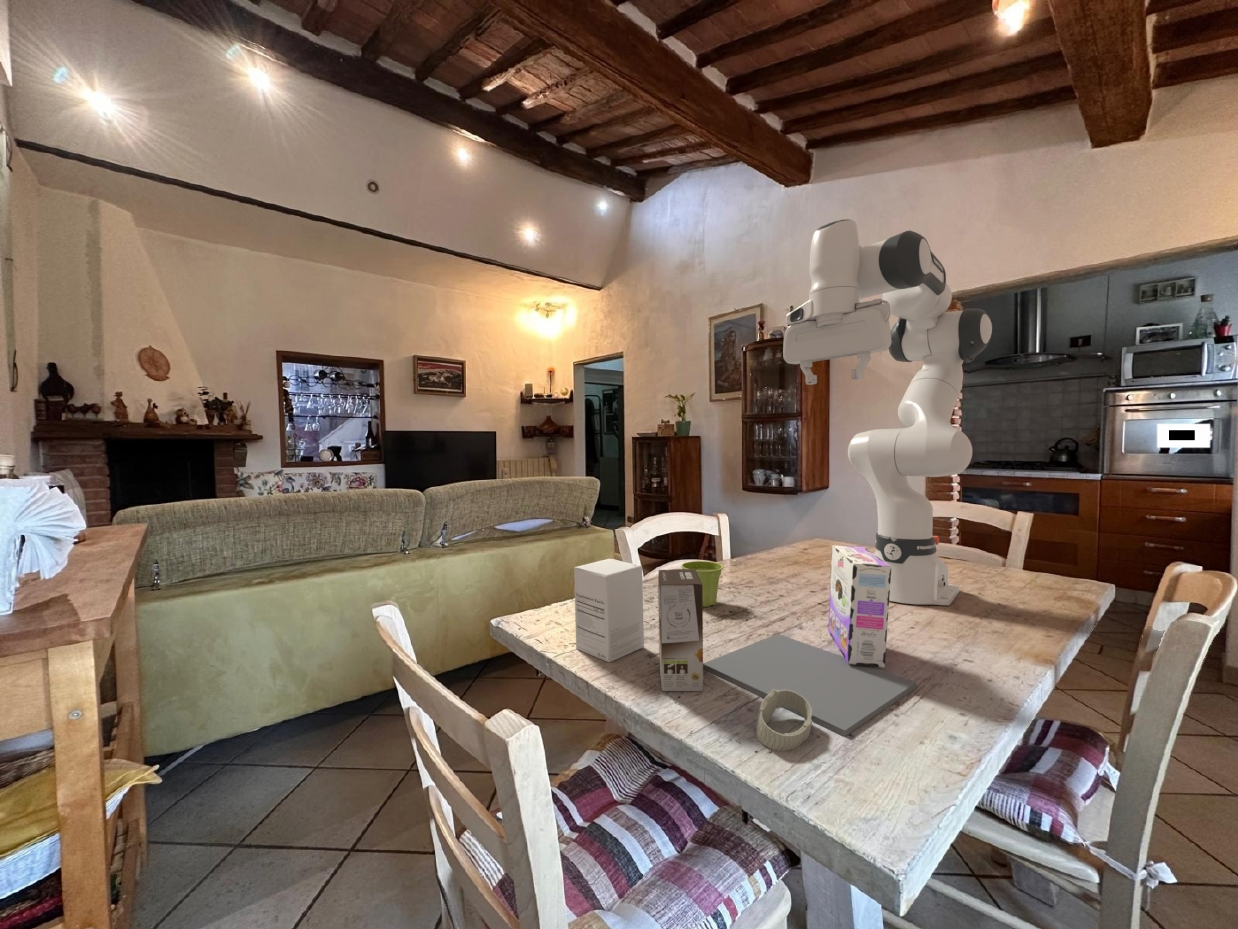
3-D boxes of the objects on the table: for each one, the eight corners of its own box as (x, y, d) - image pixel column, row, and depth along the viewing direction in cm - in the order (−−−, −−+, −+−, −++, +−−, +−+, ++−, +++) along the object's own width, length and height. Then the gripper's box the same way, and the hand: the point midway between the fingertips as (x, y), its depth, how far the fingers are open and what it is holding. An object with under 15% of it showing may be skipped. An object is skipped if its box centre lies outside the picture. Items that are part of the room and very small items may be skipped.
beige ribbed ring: (776, 711, 69) (776, 675, 68) (823, 727, 65) (823, 689, 64) (745, 741, 62) (744, 702, 62) (795, 762, 58) (795, 720, 57)
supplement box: (610, 634, 96) (609, 557, 96) (645, 647, 90) (644, 565, 89) (574, 648, 90) (572, 566, 89) (608, 664, 84) (606, 575, 83)
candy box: (886, 669, 78) (893, 565, 77) (846, 665, 79) (852, 563, 78) (860, 634, 92) (865, 545, 91) (826, 631, 93) (831, 543, 92)
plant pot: (681, 596, 119) (681, 560, 119) (722, 597, 118) (721, 560, 118) (681, 609, 110) (680, 570, 110) (724, 610, 109) (724, 571, 108)
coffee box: (704, 692, 74) (704, 584, 73) (661, 692, 74) (659, 584, 73) (697, 664, 83) (696, 568, 82) (658, 664, 83) (657, 568, 82)
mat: (777, 638, 93) (777, 633, 93) (916, 687, 74) (916, 682, 74) (702, 668, 81) (702, 663, 81) (844, 736, 62) (844, 730, 62)
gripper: (898, 298, 90) (897, 376, 90) (796, 321, 106) (796, 387, 107) (881, 292, 86) (880, 374, 87) (778, 317, 102) (778, 385, 103)
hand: (833, 381), depth 97 cm, fingers open, 8 cm apart
